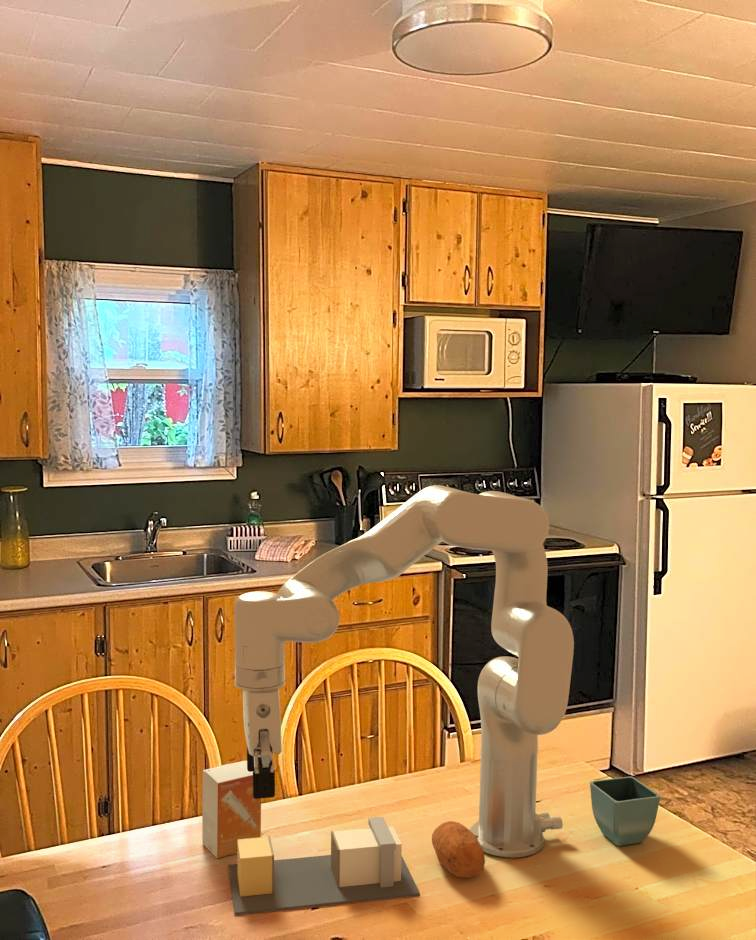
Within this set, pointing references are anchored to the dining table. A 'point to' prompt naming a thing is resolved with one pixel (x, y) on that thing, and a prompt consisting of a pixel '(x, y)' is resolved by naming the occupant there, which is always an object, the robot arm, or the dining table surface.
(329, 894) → the mat
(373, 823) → the two-tone stepped block
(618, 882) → the dining table surface
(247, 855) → the stub
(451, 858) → the potato
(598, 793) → the flower pot
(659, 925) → the dining table surface
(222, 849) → the small box
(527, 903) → the dining table surface
